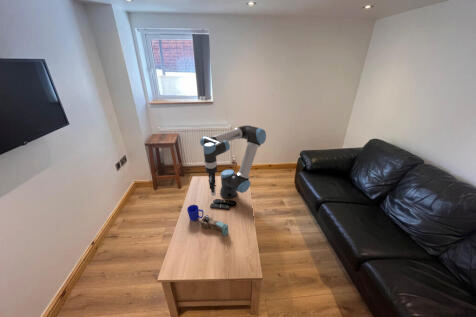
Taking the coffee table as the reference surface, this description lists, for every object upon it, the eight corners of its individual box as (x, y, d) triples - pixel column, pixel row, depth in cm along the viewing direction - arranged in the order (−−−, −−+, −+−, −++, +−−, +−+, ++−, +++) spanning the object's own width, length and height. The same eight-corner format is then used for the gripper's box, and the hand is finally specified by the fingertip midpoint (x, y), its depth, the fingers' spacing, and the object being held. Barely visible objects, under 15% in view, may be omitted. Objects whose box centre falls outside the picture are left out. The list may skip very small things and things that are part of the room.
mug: (202, 223, 142) (200, 213, 138) (187, 221, 145) (185, 211, 140) (206, 215, 149) (204, 206, 145) (191, 213, 152) (189, 203, 147)
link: (225, 226, 140) (224, 221, 137) (221, 233, 134) (220, 228, 132) (205, 220, 145) (204, 215, 143) (200, 227, 140) (200, 221, 137)
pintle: (207, 223, 143) (206, 214, 139) (209, 224, 142) (208, 216, 138) (205, 224, 141) (204, 216, 138) (207, 225, 140) (206, 217, 137)
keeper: (219, 228, 138) (218, 220, 135) (228, 232, 135) (228, 225, 131) (216, 231, 136) (215, 223, 132) (225, 236, 132) (225, 228, 129)
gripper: (207, 161, 132) (209, 189, 143) (203, 171, 120) (206, 200, 131) (218, 161, 132) (220, 189, 142) (215, 171, 120) (217, 201, 131)
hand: (213, 194), depth 137 cm, fingers closed
